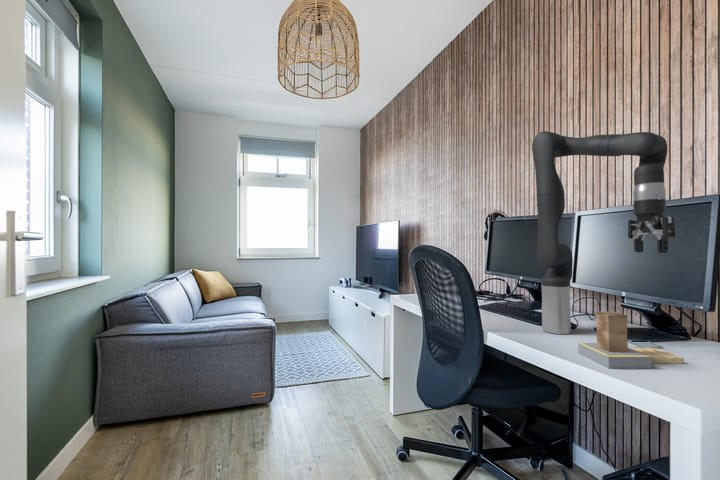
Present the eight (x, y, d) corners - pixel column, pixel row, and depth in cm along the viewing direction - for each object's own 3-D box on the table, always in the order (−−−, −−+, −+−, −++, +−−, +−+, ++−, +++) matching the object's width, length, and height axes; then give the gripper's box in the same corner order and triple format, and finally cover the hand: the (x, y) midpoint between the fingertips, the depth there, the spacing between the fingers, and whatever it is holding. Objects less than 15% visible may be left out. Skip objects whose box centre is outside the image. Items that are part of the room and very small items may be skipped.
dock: (578, 352, 102) (578, 342, 102) (615, 352, 102) (615, 342, 102) (608, 368, 89) (608, 356, 89) (651, 368, 89) (651, 356, 89)
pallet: (619, 352, 103) (619, 347, 103) (652, 352, 102) (652, 346, 102) (646, 363, 93) (646, 357, 93) (683, 363, 92) (683, 357, 92)
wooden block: (596, 346, 99) (595, 311, 99) (614, 346, 98) (614, 311, 99) (608, 352, 93) (608, 315, 94) (628, 352, 93) (627, 315, 93)
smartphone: (642, 347, 106) (606, 334, 121) (642, 351, 106) (606, 336, 121) (665, 347, 106) (627, 333, 121) (665, 350, 106) (627, 336, 121)
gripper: (619, 202, 110) (620, 252, 110) (656, 196, 96) (657, 253, 96) (642, 202, 110) (643, 252, 110) (683, 195, 96) (684, 253, 96)
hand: (650, 252), depth 103 cm, fingers open, 8 cm apart
